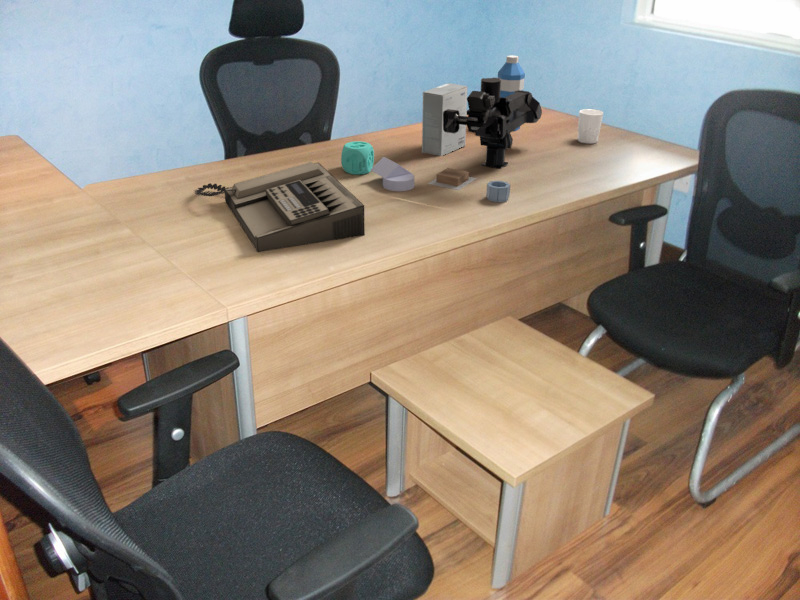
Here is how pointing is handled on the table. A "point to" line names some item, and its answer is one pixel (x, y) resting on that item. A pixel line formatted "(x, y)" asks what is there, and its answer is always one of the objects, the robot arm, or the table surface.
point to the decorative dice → (357, 157)
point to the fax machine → (293, 207)
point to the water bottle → (511, 77)
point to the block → (452, 177)
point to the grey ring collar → (498, 191)
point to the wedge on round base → (394, 175)
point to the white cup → (589, 125)
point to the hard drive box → (432, 119)
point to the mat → (452, 185)
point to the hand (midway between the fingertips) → (460, 131)
